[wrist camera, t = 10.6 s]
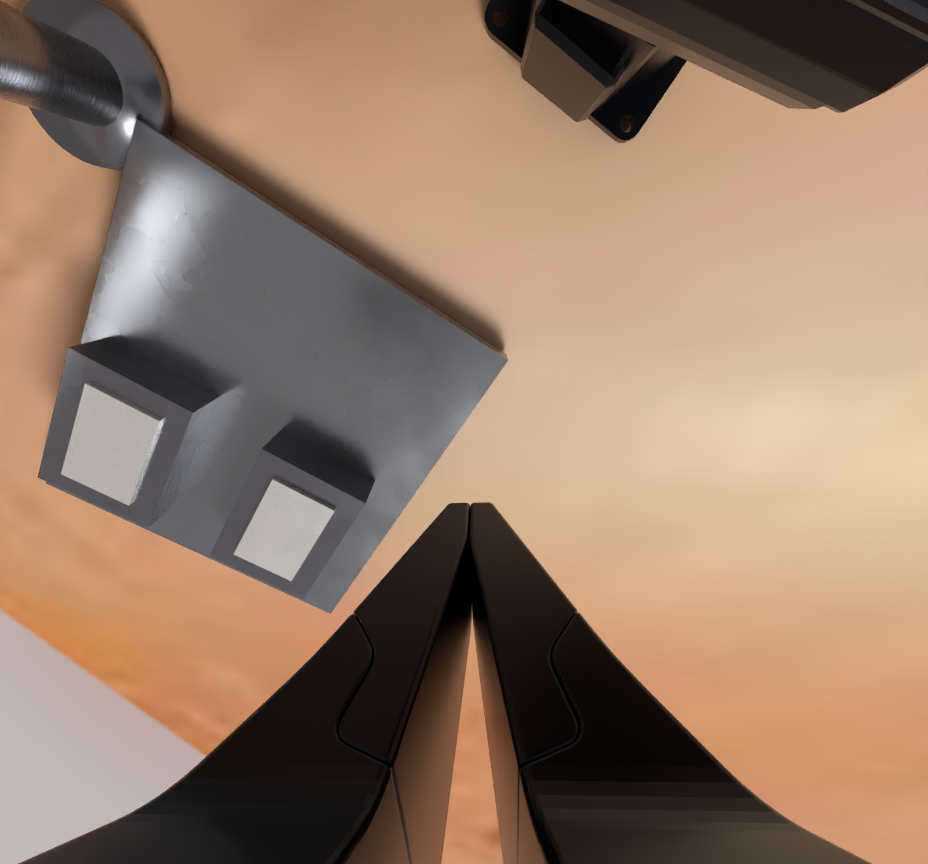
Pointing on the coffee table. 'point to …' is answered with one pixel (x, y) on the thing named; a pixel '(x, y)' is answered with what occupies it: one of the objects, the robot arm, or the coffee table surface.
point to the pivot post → (82, 76)
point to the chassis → (253, 381)
